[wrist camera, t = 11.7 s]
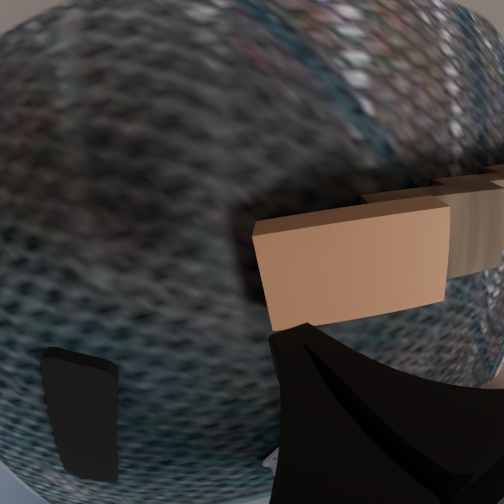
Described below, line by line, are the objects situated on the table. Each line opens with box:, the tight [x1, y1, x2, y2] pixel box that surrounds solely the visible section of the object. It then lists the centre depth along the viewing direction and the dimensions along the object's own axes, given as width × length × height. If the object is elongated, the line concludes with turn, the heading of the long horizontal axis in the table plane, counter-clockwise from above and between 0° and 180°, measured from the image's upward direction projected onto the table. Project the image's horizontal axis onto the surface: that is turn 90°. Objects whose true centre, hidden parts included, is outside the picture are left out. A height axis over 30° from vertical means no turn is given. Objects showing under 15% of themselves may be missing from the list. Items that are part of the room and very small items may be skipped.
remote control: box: [41, 347, 119, 483], centre depth 16 cm, size 5×2×15 cm
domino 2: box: [360, 181, 504, 279], centre depth 15 cm, size 2×5×9 cm
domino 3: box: [432, 172, 504, 249], centre depth 16 cm, size 2×5×9 cm
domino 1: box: [252, 195, 450, 331], centre depth 14 cm, size 2×5×9 cm
